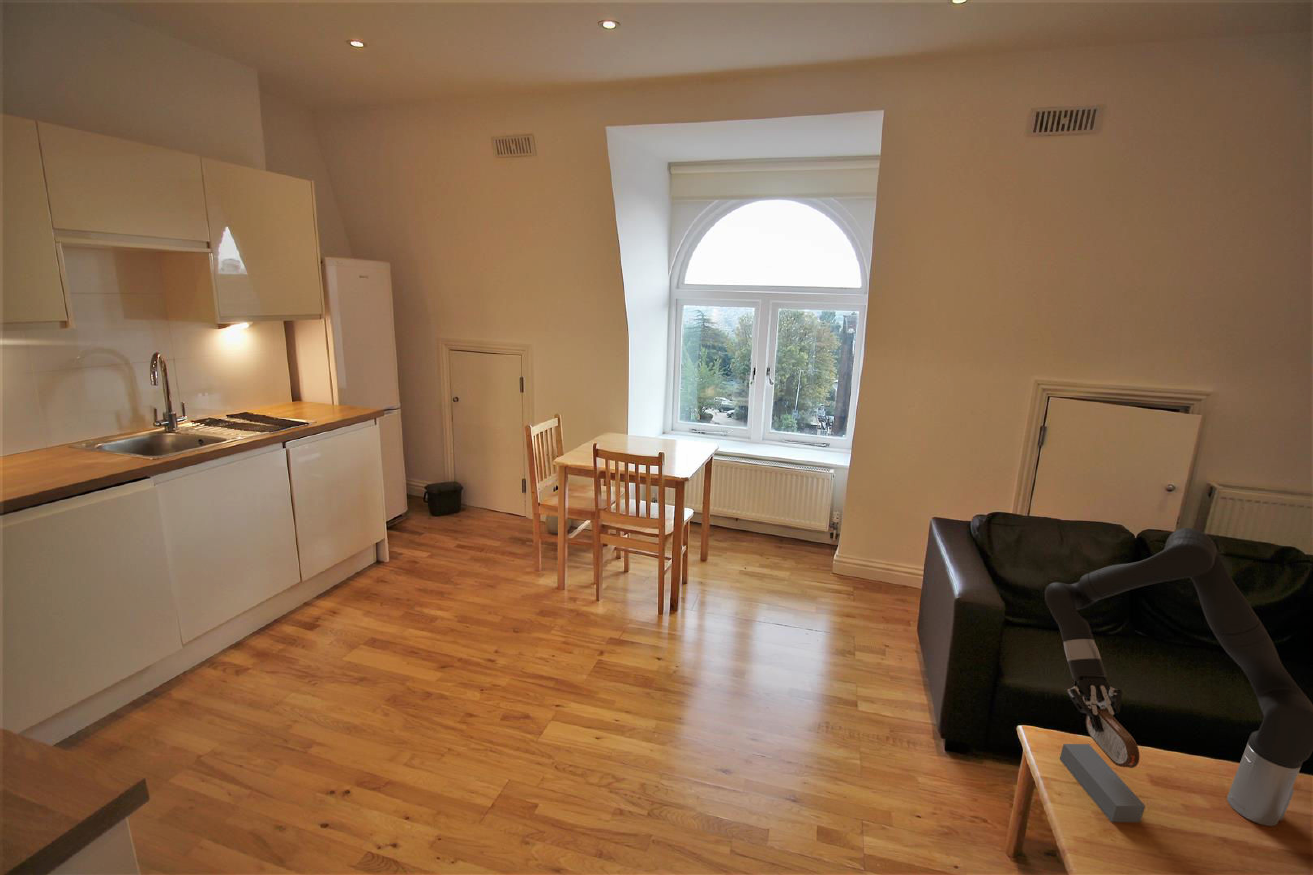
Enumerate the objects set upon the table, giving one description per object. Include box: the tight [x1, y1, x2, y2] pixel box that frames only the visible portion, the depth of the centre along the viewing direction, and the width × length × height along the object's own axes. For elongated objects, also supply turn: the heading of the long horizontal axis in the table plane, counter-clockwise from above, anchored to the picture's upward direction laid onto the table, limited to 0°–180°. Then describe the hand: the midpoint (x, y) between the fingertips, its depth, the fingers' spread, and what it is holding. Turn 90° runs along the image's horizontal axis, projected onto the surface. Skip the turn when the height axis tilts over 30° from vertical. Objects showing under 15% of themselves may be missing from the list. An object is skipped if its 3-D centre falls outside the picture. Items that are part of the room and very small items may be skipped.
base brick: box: [1059, 743, 1146, 823], centre depth 154 cm, size 7×19×5 cm, turn 1°
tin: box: [1085, 708, 1140, 769], centre depth 150 cm, size 15×3×8 cm, turn 0°
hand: (1105, 731), depth 152 cm, fingers closed on tin, 2 cm apart
